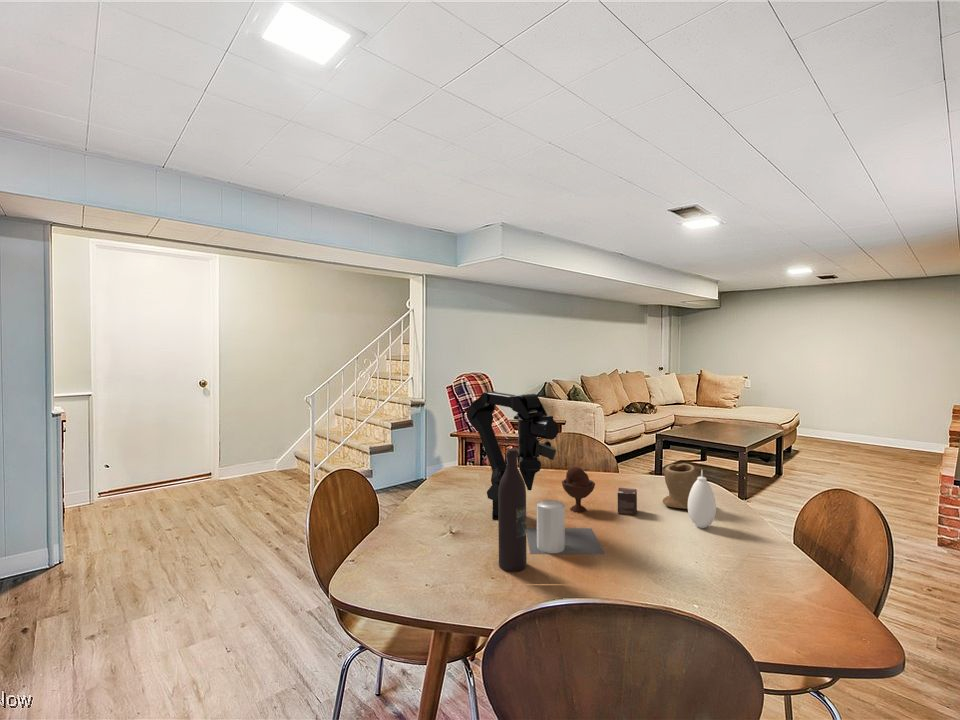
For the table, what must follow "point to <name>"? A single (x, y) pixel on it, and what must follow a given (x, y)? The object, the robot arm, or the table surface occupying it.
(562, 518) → the cover cup
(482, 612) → the table surface
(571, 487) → the ice cream bowl
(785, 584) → the table surface
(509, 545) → the wine bottle
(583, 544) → the mat
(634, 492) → the box
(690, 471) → the stone cup
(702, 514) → the white air blower bulb
